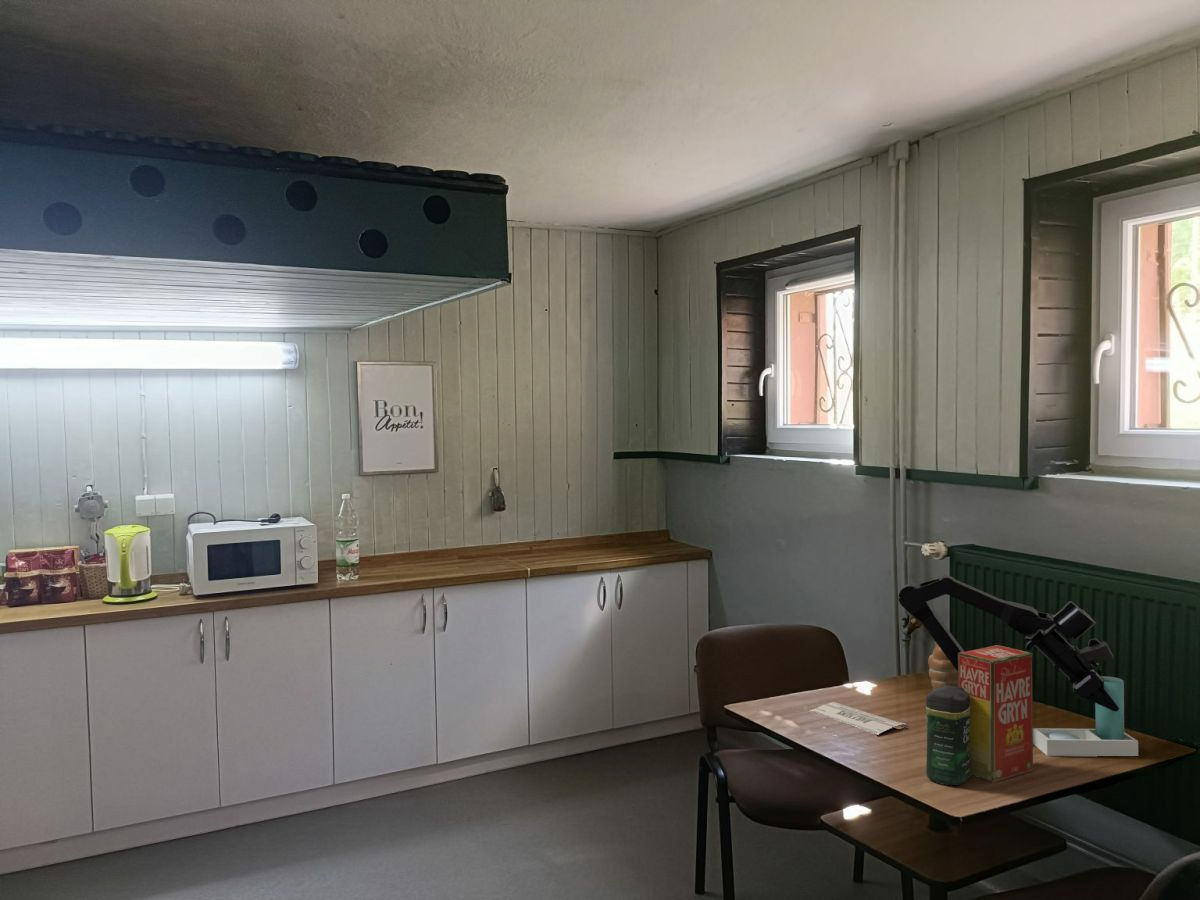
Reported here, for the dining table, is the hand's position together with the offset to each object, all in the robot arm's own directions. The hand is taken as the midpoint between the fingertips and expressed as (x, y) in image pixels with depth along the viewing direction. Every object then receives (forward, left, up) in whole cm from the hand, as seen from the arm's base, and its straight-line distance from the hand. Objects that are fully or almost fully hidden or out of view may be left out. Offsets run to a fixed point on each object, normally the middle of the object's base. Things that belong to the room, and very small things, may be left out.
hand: (1116, 706), depth 194 cm
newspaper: (-53, +21, -11) cm, 57 cm away
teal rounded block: (-1, +1, -7) cm, 7 cm away
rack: (-7, +1, -10) cm, 12 cm away
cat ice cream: (-28, +30, -10) cm, 42 cm away
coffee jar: (-41, -17, -10) cm, 46 cm away
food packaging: (-30, -12, -10) cm, 34 cm away
